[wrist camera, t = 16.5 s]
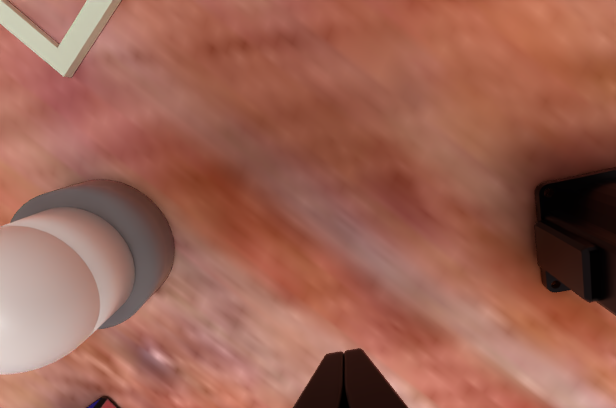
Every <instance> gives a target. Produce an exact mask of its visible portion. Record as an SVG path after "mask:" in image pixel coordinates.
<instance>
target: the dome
mask: <svg viewBox="0 0 616 408" xmlns="http://www.w3.org/2000/svg"><path fill="white" fill-rule="evenodd" d="M134 280H135V267H134V261H133V258H132V254H131V252H130V250H129V247H128V245H127V244H126V242H125V241H124V239H123V238H122V236H121V235H120V234H119V232H118V231H117V230H116V229H115V228H114V227H113V226H111V225H110V224H109V223H108V222H107V221H105V220H104V219H102V218H101V217H99V216H97V215H95V214H93V213H91V212H88V211H86V210H82V209H78V208H72V207H57V208H51V209H48V210H45V211H42V212H39V213H37V214H34V215H31V216H28V217H25V218H23V219H20V220H17V221H14V222H12V223H9V224H6V225H3V226H1V227H0V374H15V373H23V372H27V371H32V370H35V369H38V368H42V367H44V366H47V365H49V364H51V363H53V362H56V361H58V360H59V359H61V358H63V357H64V356H66V355H68V354H69V353H71V352H72V351H73V350H75V349H76V348H77V347H78V346H79V345H81V344H82V343H83V342H84V341H85V340H86V339H87V338H88V337H89V336H90V335H91V334H93V333H94V332H95V331H96V330H97V329H98V328H99V327H100V326H101V325H102V324H103V323H104V322H105V321H106V320H107V319H108V318H109V317H110V316H111V315H112V314H113V313H115V312H116V311H117V310H118V309H119V308H120V307H121V306H122V305H123V304H124V303H125V301H126V300H127V299H128V297H129V295H130V293H131V291H132V289H133V285H134Z"/></svg>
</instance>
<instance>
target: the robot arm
mask: <svg viewBox="0 0 616 408" xmlns="http://www.w3.org/2000/svg"><path fill="white" fill-rule="evenodd" d="M548 188H549V193H548V194H547V195H545V196H544V191H545V190H546V189H548ZM535 199H536V211H537V222H536V224H535V226H534V227H535V238H536V249H537V260H538V265H539V266H540V267H541V268H542V279H543V285H544V286H545V287H546V288H547V289H548V290H549V291H551V292H561V291H567V290H572V291H573V292H575V293H576V294H577V295H579V296H580V297H581V298H583V299H584V300H586V301H588V302H598V303H599V304H600V305H602V306H603V307H604V308H606V309H607V310H609V311H610V312H611V313H613V314H614V315H616V168H611V169H606V170H601V171H597V172H592V173H587V174H582V175H577V176H573V177H568V178H563V179H558V180H553V181H548V182H544V183H541V184H539V185H538V186H537V188H536V190H535ZM553 281H556V283H555V284H554V285H551V284H552V282H553ZM293 408H408V407H407V405H406V404H405V403H404V402H403V400H402V399H401V398H400V397H399V395H398V394H397V393H396V392H395V390H394V389H393V388H392V386H391V385H390V384H389V383H388V381H387V380H386V379H385V378H384V376H383V375H382V374H381V372H380V371H379V370H378V369H377V367H376V366H375V365H374V364H373V362H372V361H371V360H370V358H369V357H368V356H367V355H366V353H365V352H364V351H363V350H362V349H360V348H359V349H353V350H347V351H345V353H343V352H335V353H329V354H326V355H325V357H324V358H323V360H322V361H321V363H320V365H319V366H318V368H317V370H316V371H315V373H314V374H313V376H312V378H311V379H310V381H309V383H308V384H307V386H306V387H305V389H304V391H303V392H302V394H301V396H300V397H299V399H298V400H297V402H296V404H295V405H294V407H293Z"/></svg>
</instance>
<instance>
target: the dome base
mask: <svg viewBox="0 0 616 408" xmlns="http://www.w3.org/2000/svg"><path fill="white" fill-rule="evenodd" d="M57 207H72V208H78V209H82V210H86V211H88V212H91V213H93V214H95V215H97V216H99V217H101V218H102V219H104V220H105V221H107V222H108V223H109V224H110V225H111V226H113V227H114V228H115V229H116V230H117V231H118V232H119V234H120V235H121V236H122V238H123V239H124V241H125V242H126V244H127V245H128V247H129V250H130V252H131V254H132V258H133V261H134V267H135V280H134V285H133V289H132V291H131V293H130V295H129V297H128V299H127V300H126V301H125V303H124V304H123V305H122V306H121V307H120V308H119V309H118V310H117V311H116V312H115V313H113V314H112V315H111V316H110V317H109V318H108V319H107V320H106V321H105V322H104V323H103V324H102V325H101V326H100V327H99V328H98V329H104V328H108V327H112V326H115V325H118V324H120V323H122V322H124V321H125V320H127V319H129V318H130V317H131V316H132V315H134V314H135V313H136V312H137V311H138V310H139V308H140V307H141V306H142V305H143V304H144V303H145V302H146V301H147V300H148V299H149V298H150V297H151V296H152V295H153V294H154V293H155V292H156V290H157V289H158V288H159V287H160V286H161V285H162V284H163V283H164V282H165V280H166V279H167V277H168V275H169V273H170V271H171V268H172V265H173V261H174V241H173V236H172V232H171V229H170V227H169V225H168V222H167V220H166V219H165V217H164V215H163V214H162V212H161V211H160V210H159V208H158V207H157V206H156V205H155V204H154V203H153V202H152V201H151V200H150V199H149V198H148V197H146V196H145V195H144V194H142V193H141V192H139V191H138V190H136V189H134V188H132V187H130V186H128V185H126V184H123V183H120V182H116V181H112V180H90V181H85V182H82V183H78V184H75V185H72V186H68V187H65V188H62V189H58V190H55V191H52V192H48V193H45V194H42V195H39V196H37V197H35V198H33V199H31V200H30V201H28V202H27V203H25V204H24V205H23V206H22V207H21V208H20V209H19V210H18V211H17V212H16V214H15V215H14V217H13V218H12V220H11V222H10V223H12V222H14V221H17V220H20V219H23V218H25V217H28V216H31V215H34V214H37V213H39V212H42V211H45V210H48V209H51V208H57Z"/></svg>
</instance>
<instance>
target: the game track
mask: <svg viewBox="0 0 616 408" xmlns="http://www.w3.org/2000/svg"><path fill="white" fill-rule="evenodd" d="M120 2H121V0H87V1H86V3H85V5H84V6H83V8H82V9H81V11H80V13H79V14H78V16H77V17H76V19H75V21H74V22H73V24H72V25H71V27H70V29H69V30H68V32H67V33H66V35H65V37H64V38H63V40H62V42H61V43H60V45H59V44H58V43H57V42H56V41H54V40H53V39H52V38H51V37H50V36H49V35H47V34H46V33H45V32H44V31H43V30H42V29H40V28H39V27H38V26H37V25H36V24H34V23H33V22H32V21H31V20H30V19H29V18H27V17H26V16H25V15H24V14H23V13H22V12H20V11H19V10H18V9H17V8H16V7H14V6H13V5H12V4H11V3H10V2H9V1H7V0H0V24H1V25H2V26H4V27H5V28H6V29H7V30H8V31H10V32H11V33H12V34H13V35H14V36H16V37H17V38H18V39H19V40H20V41H22V42H23V43H24V44H25V45H26V46H28V47H29V48H30V49H31V50H32V51H34V52H35V53H36V54H37V55H38V56H40V57H41V58H42V59H43V60H44V61H46V62H47V63H48V64H49V65H50V66H51V67H53V68H54V69H55V70H56V71H57V72H59V73H60V74H61V75H62V76H63V77H72V76H73V74H74V73H75V71H76V70H77V68H78V67H79V65H80V64H81V62H82V60H83V59H84V57H85V56H86V54H87V53H88V51H89V50H90V48H91V47H92V45H93V43H94V42H95V40H96V39H97V37H98V36H99V34H100V33H101V31H102V30H103V28H104V26H105V25H106V23H107V22H108V20H109V19H110V17H111V16H112V14H113V13H114V11H115V10H116V8H117V6H118V5H119V3H120Z"/></svg>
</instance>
